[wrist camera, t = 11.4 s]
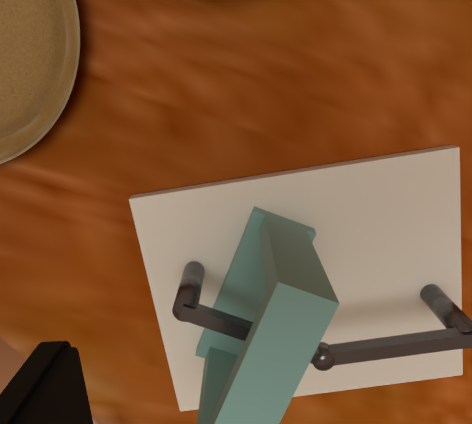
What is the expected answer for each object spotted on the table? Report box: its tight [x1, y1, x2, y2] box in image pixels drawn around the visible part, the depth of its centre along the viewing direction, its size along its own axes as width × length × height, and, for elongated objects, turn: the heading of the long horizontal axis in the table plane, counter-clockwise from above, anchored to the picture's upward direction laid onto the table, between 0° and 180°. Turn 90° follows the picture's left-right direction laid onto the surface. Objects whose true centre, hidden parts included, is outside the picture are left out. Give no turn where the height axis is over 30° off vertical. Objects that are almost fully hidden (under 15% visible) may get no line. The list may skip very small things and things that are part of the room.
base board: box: [129, 145, 463, 411], centre depth 43 cm, size 30×24×2 cm
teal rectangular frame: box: [195, 206, 340, 424], centre depth 35 cm, size 6×16×15 cm, turn 159°
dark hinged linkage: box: [172, 261, 472, 371], centre depth 39 cm, size 25×5×8 cm, turn 84°
